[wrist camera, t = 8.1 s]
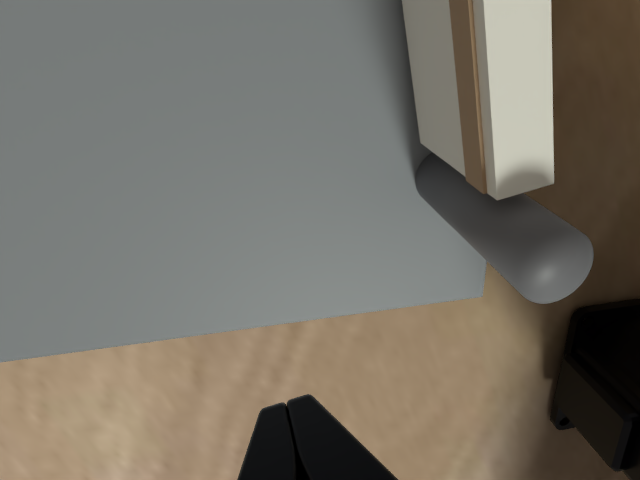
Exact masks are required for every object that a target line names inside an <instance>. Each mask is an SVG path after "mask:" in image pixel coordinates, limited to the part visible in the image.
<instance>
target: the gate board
mask: <svg viewBox="0 0 640 480" xmlns="http://www.w3.org/2000/svg"><path fill="white" fill-rule="evenodd" d="M593 257H594V252H593V247H592V244H591V242H590V240H589V238H588V237H587V236H586V235H585V234H583V233H582V232H580V231H579V230H578V229H576V228H575V227H573V226H572V225H570V224H569V223H567V222H566V221H564V220H563V219H561V218H560V217H558V216H557V215H555V214H554V213H552V212H551V211H549V210H548V209H546V208H545V207H543V206H542V205H540V204H539V203H537V202H536V201H534V200H533V199H531V198H530V197H528V196H527V195H526V194H524V193H521V194H518V195H514V196H511V197H507V198H504V199H501V200H496V199H494V198H493V197H492V196H490V195H489V194H488V193H486V194H483V193H481V192H480V191H479V190H477V189H476V188H475V187H473V186H472V185H471V184H469V183H468V182H467V181H466V177H465V176H464V175H462V174H461V173H460V172H458V171H457V170H456V169H454V168H453V167H452V166H450V165H449V164H448V163H446V162H445V161H444V160H442V159H441V158H440V157H439V156H437V155H436V154H435V153H433V152H432V151H431V150H429V149H428V148H427V147H425V146H424V145H423V144H421V143H420V136H419V128H418V121H417V113H416V105H415V98H414V90H413V83H412V75H411V67H410V60H409V52H408V44H407V37H406V29H405V21H404V14H403V6H402V0H0V362H6V361H14V360H21V359H28V358H36V357H43V356H50V355H58V354H65V353H72V352H80V351H87V350H94V349H102V348H109V347H117V346H124V345H131V344H139V343H146V342H153V341H161V340H168V339H175V338H183V337H190V336H197V335H205V334H212V333H219V332H227V331H234V330H241V329H249V328H256V327H263V326H271V325H278V324H286V323H293V322H300V321H308V320H315V319H322V318H330V317H337V316H344V315H352V314H359V313H366V312H374V311H381V310H388V309H396V308H403V307H410V306H418V305H425V304H432V303H440V302H447V301H455V300H462V299H469V298H477V297H482V296H483V288H484V280H485V272H486V264H487V262H488V263H490V264H491V265H492V266H493V267H494V268H495V269H496V270H497V271H498V272H499V273H500V274H501V275H502V276H503V277H504V278H505V279H506V280H507V281H508V282H509V283H510V284H511V285H512V286H513V287H514V288H515V289H516V290H517V291H518V292H519V293H520V294H521V295H522V296H523V297H525V298H526V299H527V300H529V301H531V302H534V303H540V304H546V303H552V302H556V301H559V300H561V299H563V298H565V297H567V296H568V295H570V294H571V293H573V292H574V291H575V290H576V289H577V288H578V287H579V286H580V285H581V284H582V283H583V282H584V280H585V279H586V277H587V276H588V274H589V272H590V269H591V267H592V263H593Z"/></svg>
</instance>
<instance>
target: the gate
mask: <svg viewBox="0 0 640 480" xmlns="http://www.w3.org/2000/svg"><path fill="white" fill-rule="evenodd" d="M402 6H403V14H404V21H405V29H406V37H407V44H408V52H409V60H410V67H411V75H412V83H413V90H414V98H415V105H416V113H417V121H418V128H419V136H420V143H421V144H423V145H424V146H425V147H427V148H428V149H429V150H431V151H432V152H433V153H435V154H436V155H437V156H439V157H440V158H441V159H442V160H444V161H445V162H446V163H448V164H449V165H450V166H452V167H453V168H454V169H456V170H457V171H458V172H460V173H461V174H462V175H464V176H465V177H466V181H467V182H468V183H469V184H471V185H472V186H473V187H475V188H476V189H477V190H479V191H480V192H481V193H483V194H486V193H488V194H489V195H490V196H492V197H493V198H494V199H496V200H501V199H504V198H507V197H511V196H514V195H518V194H521V193H524V192H528V191H531V190H534V189H538V188H541V187H545V186H548V185H551V184H554V146H553V83H552V21H551V0H402Z"/></svg>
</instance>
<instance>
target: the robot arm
mask: <svg viewBox="0 0 640 480" xmlns="http://www.w3.org/2000/svg"><path fill="white" fill-rule="evenodd" d="M585 318H586V319H585ZM584 319H585V320H584ZM583 320H584V321H583ZM550 421H551V422H552V423H553V425H554V426H555V427H556V428H557V429H559V430H564V429H569V428H575V427H576V428H577V429H578V431H579V432H580V433H581V434H582V435H583V436H584V438H585V439H586V440H587V441H588V442H589V443H590V445H591V446H592V447H593V448H594V449H595V451H596V452H597V453H598V454H599V455H600V456H601V458H602V459H603V460H604V461H605V462H606V463H607V465H608V466H609V467H610V468H612V469H613V470H614V471H623V472H624V473H625V474H626V476H627V477H628V478H629V479H630V480H640V299H634V300H628V301H621V302H614V303H607V304H600V305H593V306H586V307H582V308H579V309H578V310H576V311H575V312H574V314H573V315H572V317H571V321H570V326H569V331H568V336H567V340H566V345H565V350H564V355H563V359H562V364H561V369H560V373H559V378H558V383H557V388H556V392H555V397H554V402H553V407H552V411H551V416H550ZM237 480H398V479H397V478H396V477H395V476H394V475H393V474H392V473H391V472H390V471H389V470H388V469H387V468H386V467H385V466H384V465H383V464H382V463H381V462H380V461H379V460H378V459H376V458H375V457H374V456H373V455H372V454H371V453H370V452H369V451H368V450H367V449H366V448H365V447H364V446H363V445H362V444H361V443H360V442H359V441H358V440H357V439H356V438H355V437H354V436H353V435H352V434H351V433H350V432H349V431H348V430H347V429H346V428H345V427H344V426H343V425H342V424H341V423H340V422H339V421H338V420H337V419H336V418H335V417H334V416H333V415H331V414H330V413H329V412H328V411H327V410H326V409H325V408H324V407H323V406H322V405H321V404H320V403H319V402H318V401H317V400H316V399H315V398H314V397H313V396H312V395H309V394H307V395H303V396H300V397H297V398H294V399H291V400H289V401H288V402H287V406H286V404H285V403H278V404H275V405H272V406H268V407H265V408H263V409H262V410H261V411H260V413H259V415H258V418H257V422H256V425H255V428H254V431H253V434H252V437H251V440H250V443H249V446H248V449H247V452H246V455H245V458H244V461H243V464H242V467H241V470H240V473H239V476H238V479H237Z"/></svg>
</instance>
